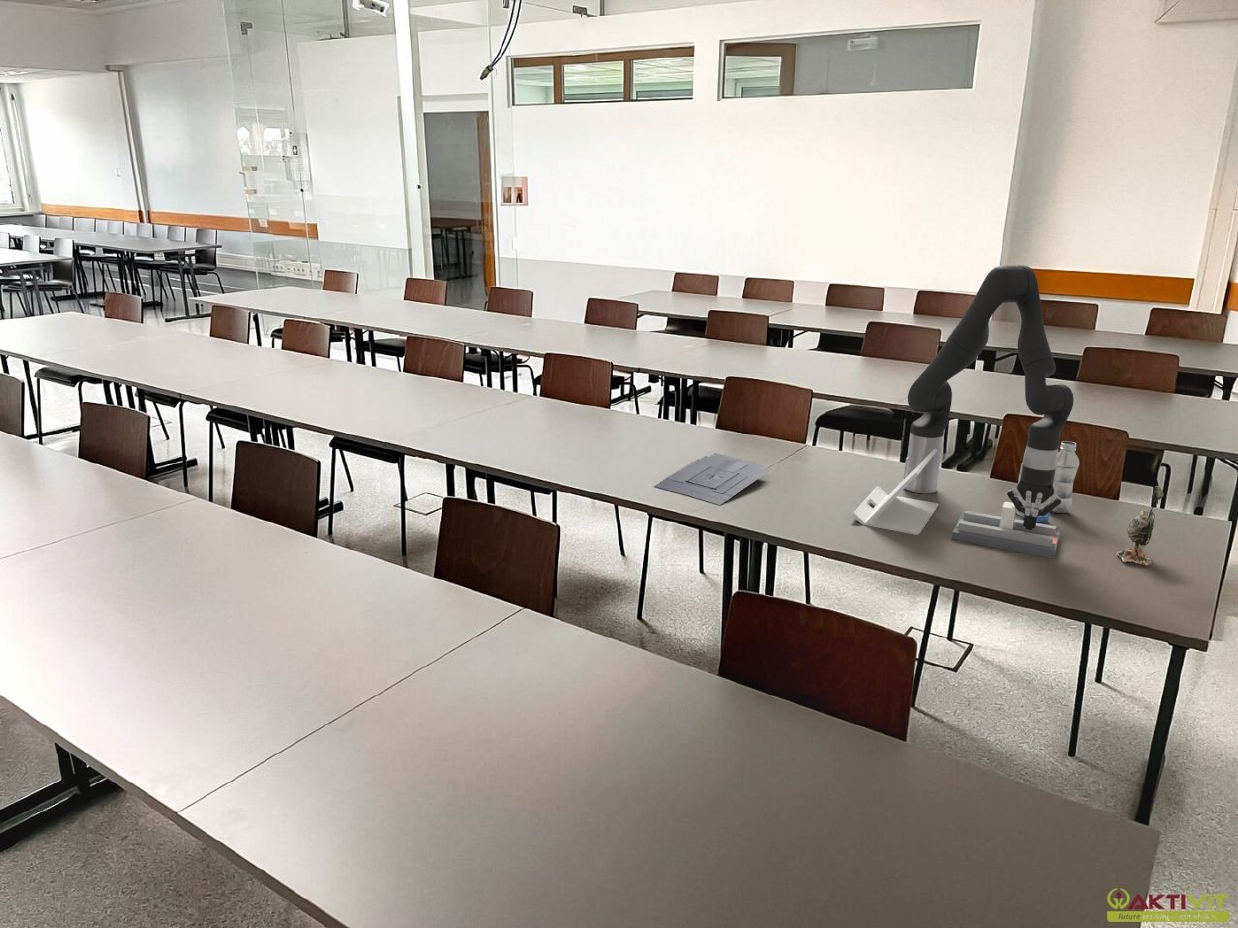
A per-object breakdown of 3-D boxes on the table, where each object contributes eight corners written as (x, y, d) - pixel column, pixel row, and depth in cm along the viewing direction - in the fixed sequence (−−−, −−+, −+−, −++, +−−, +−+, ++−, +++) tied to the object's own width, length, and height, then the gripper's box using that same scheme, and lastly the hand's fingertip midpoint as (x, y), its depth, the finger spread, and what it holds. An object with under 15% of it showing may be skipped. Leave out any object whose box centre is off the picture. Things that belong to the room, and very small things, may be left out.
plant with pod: (1156, 554, 215) (1172, 478, 209) (1149, 570, 207) (1166, 491, 200) (1119, 546, 220) (1134, 472, 213) (1111, 561, 211) (1126, 484, 205)
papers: (775, 475, 268) (775, 464, 267) (720, 513, 248) (720, 502, 246) (710, 459, 283) (709, 449, 282) (653, 494, 263) (653, 483, 261)
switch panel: (951, 539, 224) (953, 524, 223) (961, 521, 236) (962, 507, 235) (1054, 558, 213) (1056, 543, 212) (1058, 538, 224) (1061, 524, 223)
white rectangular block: (998, 532, 223) (1002, 506, 220) (1000, 526, 226) (1004, 501, 224) (1011, 534, 221) (1015, 509, 219) (1013, 528, 225) (1017, 503, 223)
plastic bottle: (1047, 505, 247) (1058, 438, 241) (1073, 511, 243) (1085, 442, 237) (1040, 511, 242) (1052, 443, 236) (1067, 517, 238) (1079, 448, 232)
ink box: (1049, 521, 236) (1057, 470, 231) (1033, 523, 234) (1041, 471, 230) (1027, 510, 243) (1035, 460, 239) (1012, 512, 242) (1020, 462, 238)
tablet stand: (938, 506, 247) (945, 449, 242) (918, 536, 227) (926, 474, 221) (874, 494, 256) (879, 439, 251) (850, 522, 235) (855, 463, 230)
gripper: (1008, 464, 215) (999, 528, 221) (1068, 472, 209) (1056, 538, 215) (1012, 456, 222) (1002, 519, 227) (1070, 464, 215) (1058, 528, 221)
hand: (1029, 528), depth 221 cm, fingers closed
